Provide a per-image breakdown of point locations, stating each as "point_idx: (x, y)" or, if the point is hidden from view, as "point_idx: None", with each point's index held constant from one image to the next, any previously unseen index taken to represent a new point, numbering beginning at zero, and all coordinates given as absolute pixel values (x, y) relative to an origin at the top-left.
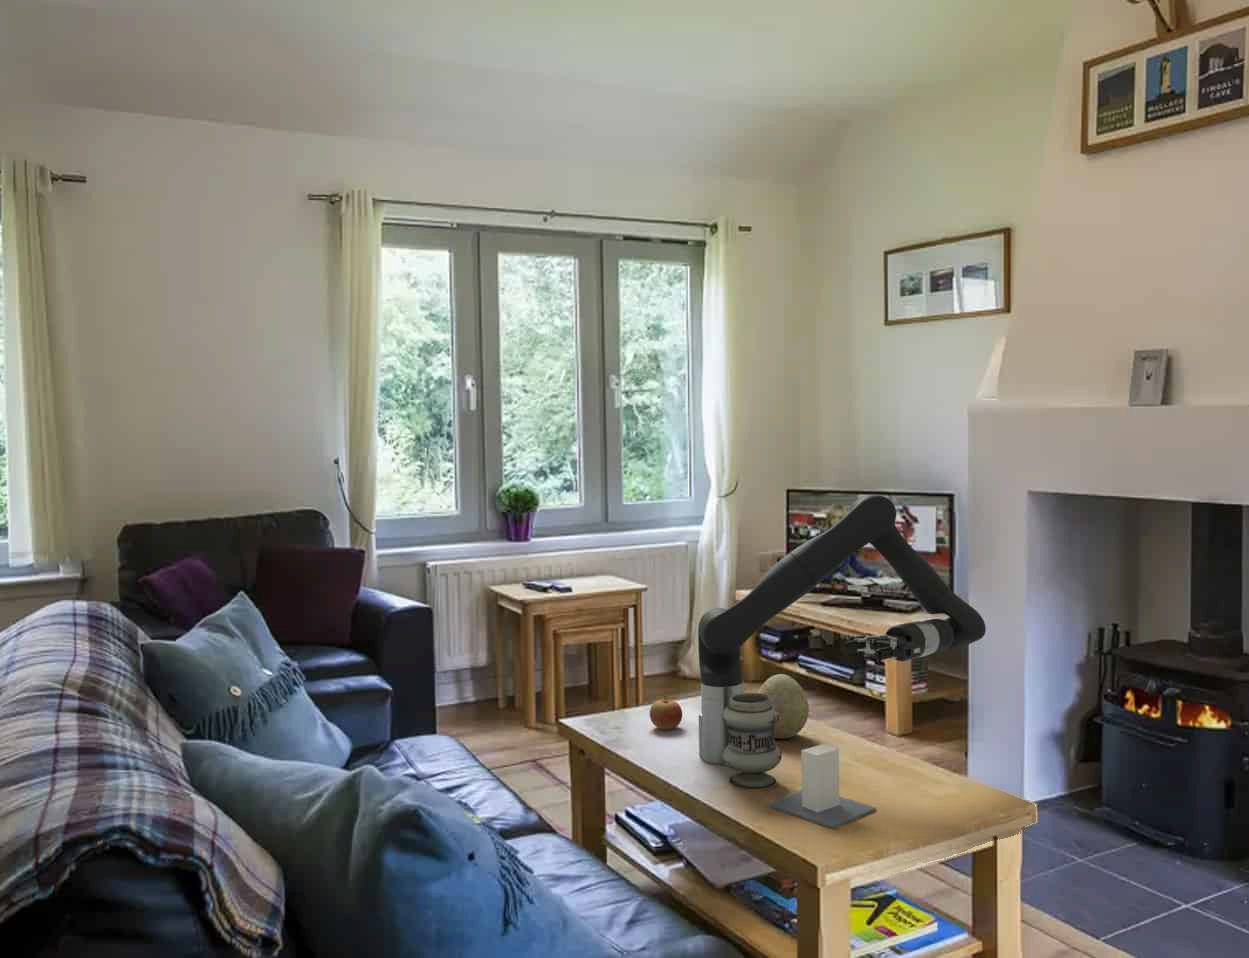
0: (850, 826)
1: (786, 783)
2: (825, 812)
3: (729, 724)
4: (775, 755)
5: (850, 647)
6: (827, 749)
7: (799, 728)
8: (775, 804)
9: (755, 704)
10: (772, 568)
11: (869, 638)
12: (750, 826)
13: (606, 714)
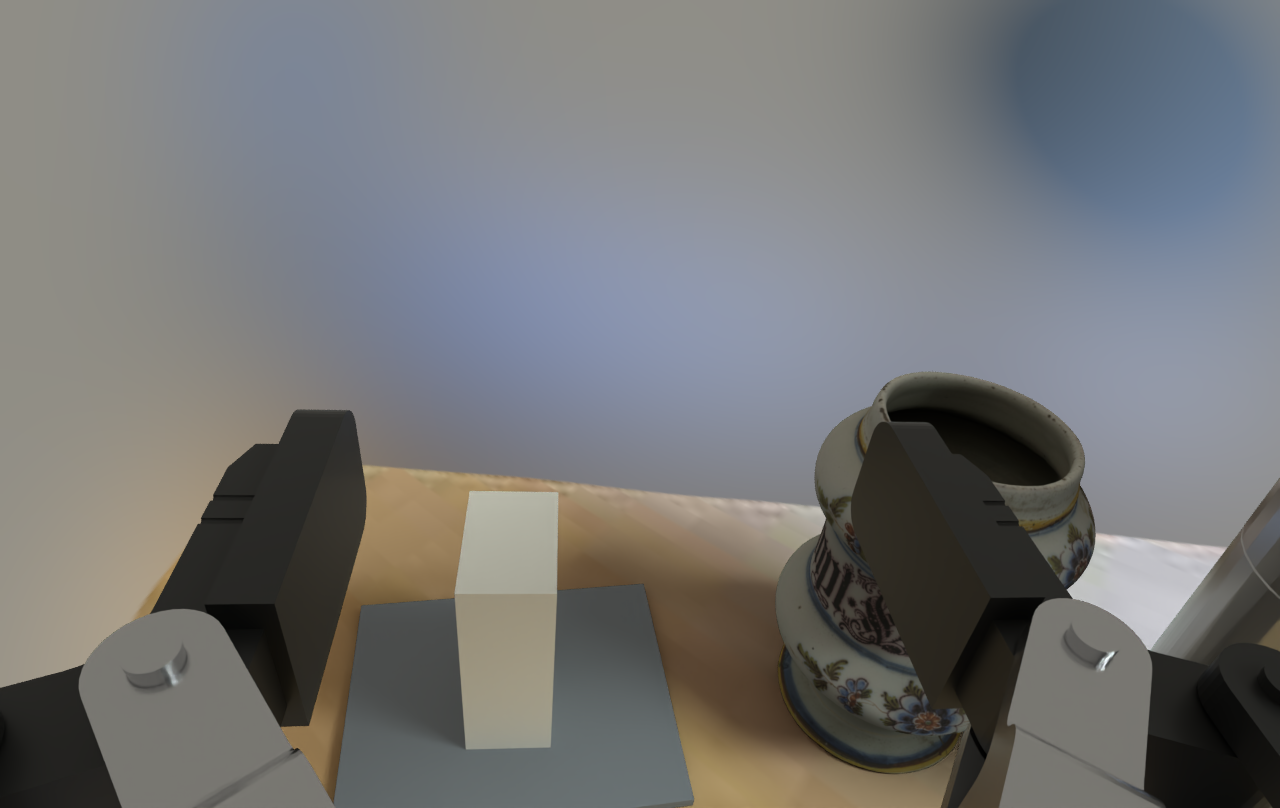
0: (327, 663)
1: (805, 781)
2: (457, 663)
3: None
4: (801, 629)
5: (895, 532)
6: (488, 559)
7: None
8: (621, 596)
9: (875, 401)
10: None
11: (998, 786)
12: (553, 485)
13: None
